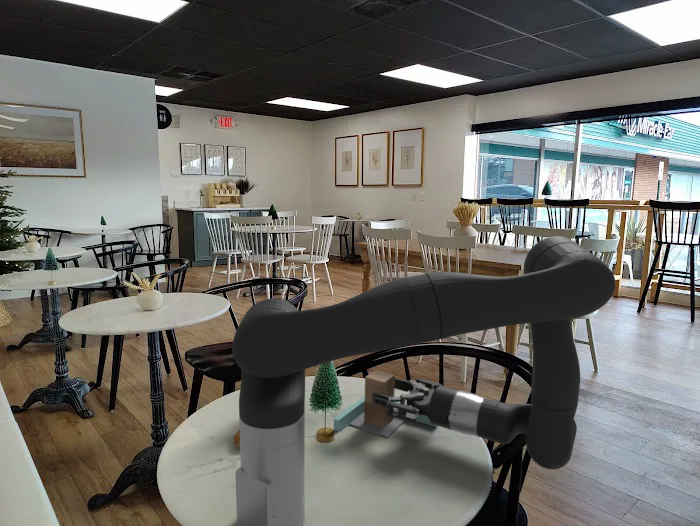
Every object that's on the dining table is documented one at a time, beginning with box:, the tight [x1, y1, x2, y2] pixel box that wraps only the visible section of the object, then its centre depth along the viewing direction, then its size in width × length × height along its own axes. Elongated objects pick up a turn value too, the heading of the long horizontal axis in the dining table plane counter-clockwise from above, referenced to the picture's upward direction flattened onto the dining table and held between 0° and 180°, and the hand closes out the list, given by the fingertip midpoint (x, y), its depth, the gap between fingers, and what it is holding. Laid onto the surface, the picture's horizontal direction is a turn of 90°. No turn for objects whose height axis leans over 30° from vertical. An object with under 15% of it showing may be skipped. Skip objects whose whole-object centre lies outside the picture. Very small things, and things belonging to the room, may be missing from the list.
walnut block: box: [364, 369, 396, 428], centre depth 98 cm, size 4×4×10 cm
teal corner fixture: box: [333, 395, 438, 439], centre depth 96 cm, size 14×17×2 cm
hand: (383, 389), depth 97 cm, fingers open, 8 cm apart
